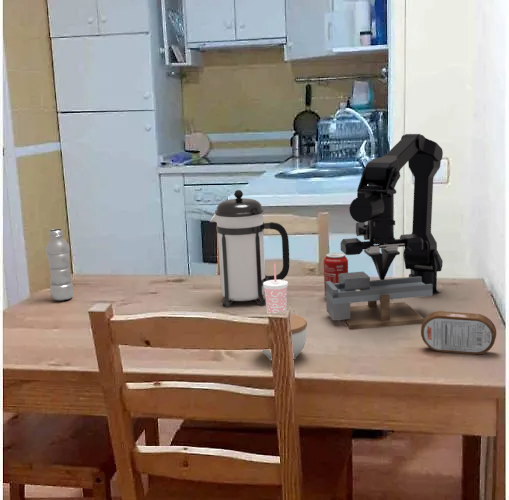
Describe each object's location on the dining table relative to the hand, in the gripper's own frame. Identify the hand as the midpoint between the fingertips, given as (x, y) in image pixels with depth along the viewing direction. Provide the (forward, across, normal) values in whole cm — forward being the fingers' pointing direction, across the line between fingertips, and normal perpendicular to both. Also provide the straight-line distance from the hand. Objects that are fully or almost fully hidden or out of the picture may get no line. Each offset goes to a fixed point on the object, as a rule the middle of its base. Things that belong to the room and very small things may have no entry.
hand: (381, 279), depth 169 cm
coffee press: (+10, +30, -23) cm, 39 cm away
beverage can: (+10, +7, -18) cm, 22 cm away
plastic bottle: (+10, +81, -38) cm, 90 cm away
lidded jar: (+10, +28, +20) cm, 36 cm away
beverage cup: (+10, +25, -6) cm, 27 cm away
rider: (+2, +7, 0) cm, 7 cm away
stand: (+9, +1, 0) cm, 9 cm away
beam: (+8, +1, 0) cm, 8 cm away
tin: (+10, -8, +26) cm, 29 cm away
